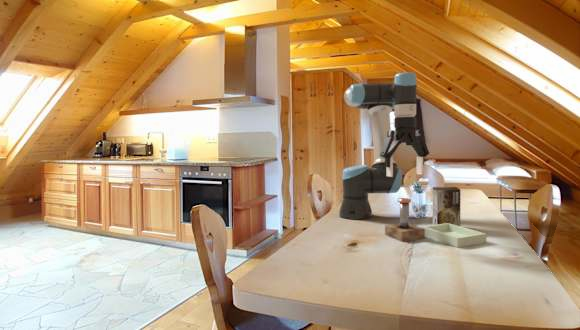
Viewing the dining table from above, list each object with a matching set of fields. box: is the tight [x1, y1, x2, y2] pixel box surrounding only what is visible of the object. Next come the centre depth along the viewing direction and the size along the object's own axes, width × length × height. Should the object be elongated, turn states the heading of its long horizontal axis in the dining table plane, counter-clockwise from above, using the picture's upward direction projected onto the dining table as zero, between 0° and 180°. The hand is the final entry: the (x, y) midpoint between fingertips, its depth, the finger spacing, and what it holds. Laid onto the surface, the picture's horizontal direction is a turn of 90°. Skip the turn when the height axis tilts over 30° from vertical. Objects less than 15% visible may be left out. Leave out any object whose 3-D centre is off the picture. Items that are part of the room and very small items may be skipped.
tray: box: [420, 223, 487, 248], centre depth 130 cm, size 17×13×3 cm
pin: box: [397, 197, 412, 229], centre depth 134 cm, size 4×4×14 cm
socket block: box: [384, 223, 426, 243], centre depth 134 cm, size 10×10×4 cm
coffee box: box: [432, 186, 461, 226], centre depth 145 cm, size 9×6×16 cm
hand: (404, 175), depth 132 cm, fingers open, 13 cm apart
